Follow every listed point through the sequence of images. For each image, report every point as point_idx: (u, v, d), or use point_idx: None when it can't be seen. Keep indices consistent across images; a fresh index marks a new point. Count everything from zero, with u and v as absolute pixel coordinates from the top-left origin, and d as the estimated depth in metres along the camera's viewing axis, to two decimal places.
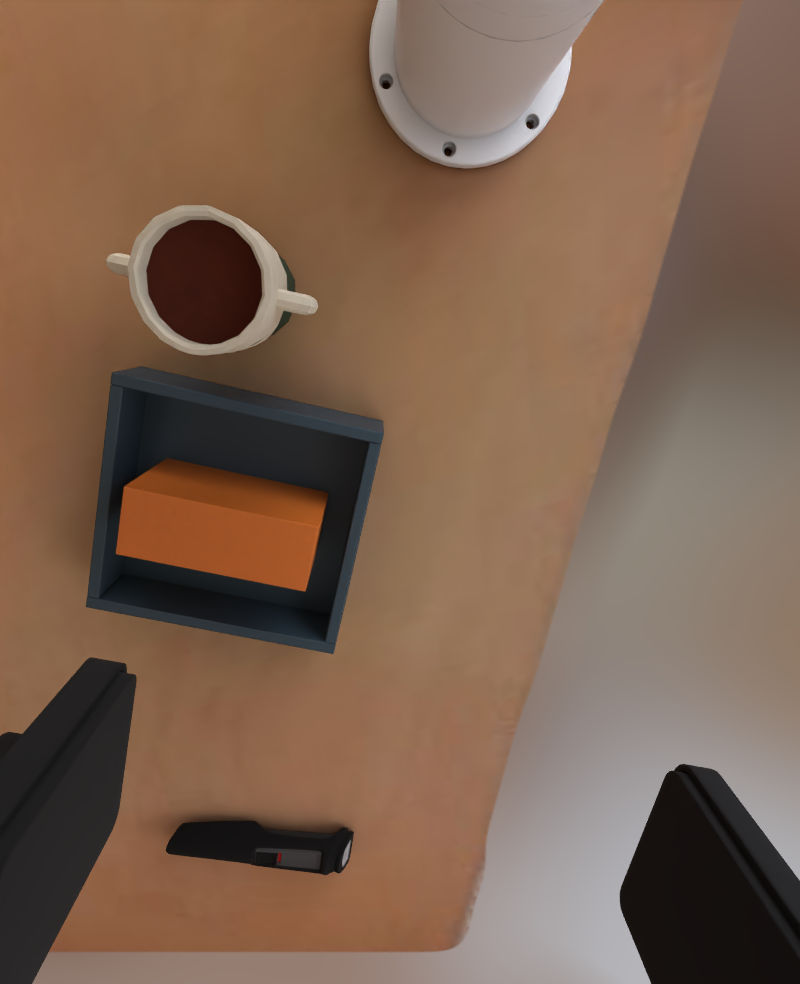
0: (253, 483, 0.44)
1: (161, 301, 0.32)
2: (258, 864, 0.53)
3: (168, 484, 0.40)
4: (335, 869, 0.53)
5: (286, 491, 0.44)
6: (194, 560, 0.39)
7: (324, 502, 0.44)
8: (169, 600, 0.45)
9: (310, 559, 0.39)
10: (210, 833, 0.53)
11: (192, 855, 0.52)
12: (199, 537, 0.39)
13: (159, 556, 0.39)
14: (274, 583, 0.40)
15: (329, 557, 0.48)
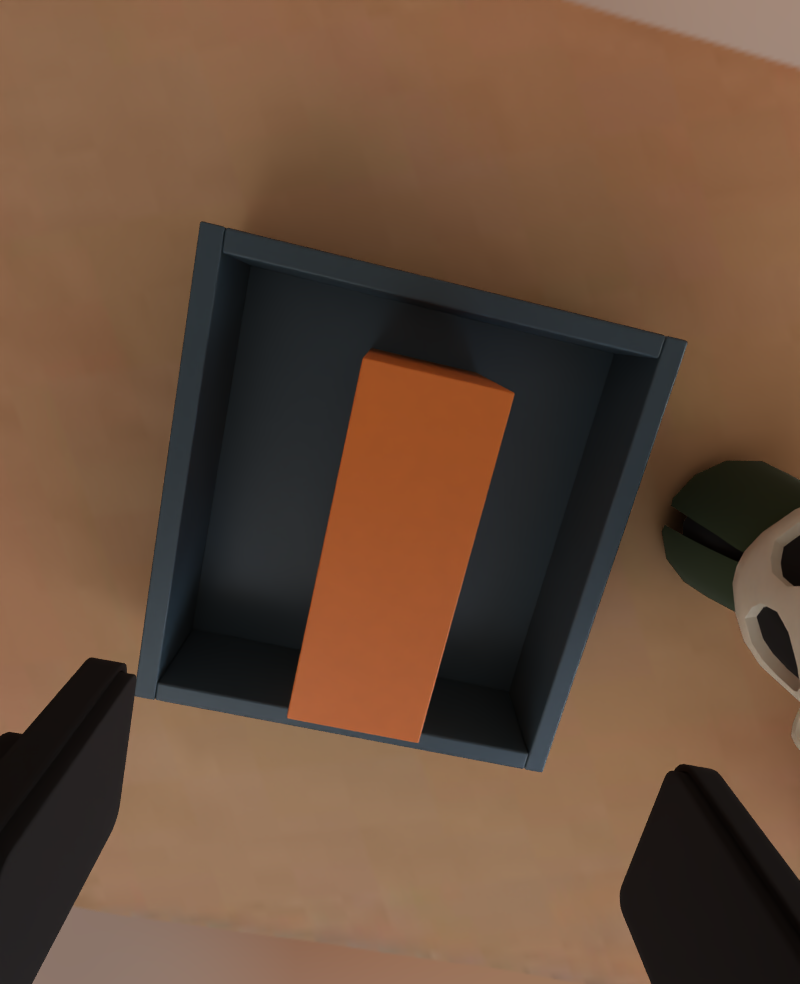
0: None
1: None
2: None
3: None
4: None
5: None
6: (350, 521, 0.19)
7: None
8: (214, 382, 0.23)
9: (353, 729, 0.21)
10: None
11: None
12: (399, 534, 0.19)
13: (358, 451, 0.18)
14: (302, 666, 0.20)
15: (297, 629, 0.29)
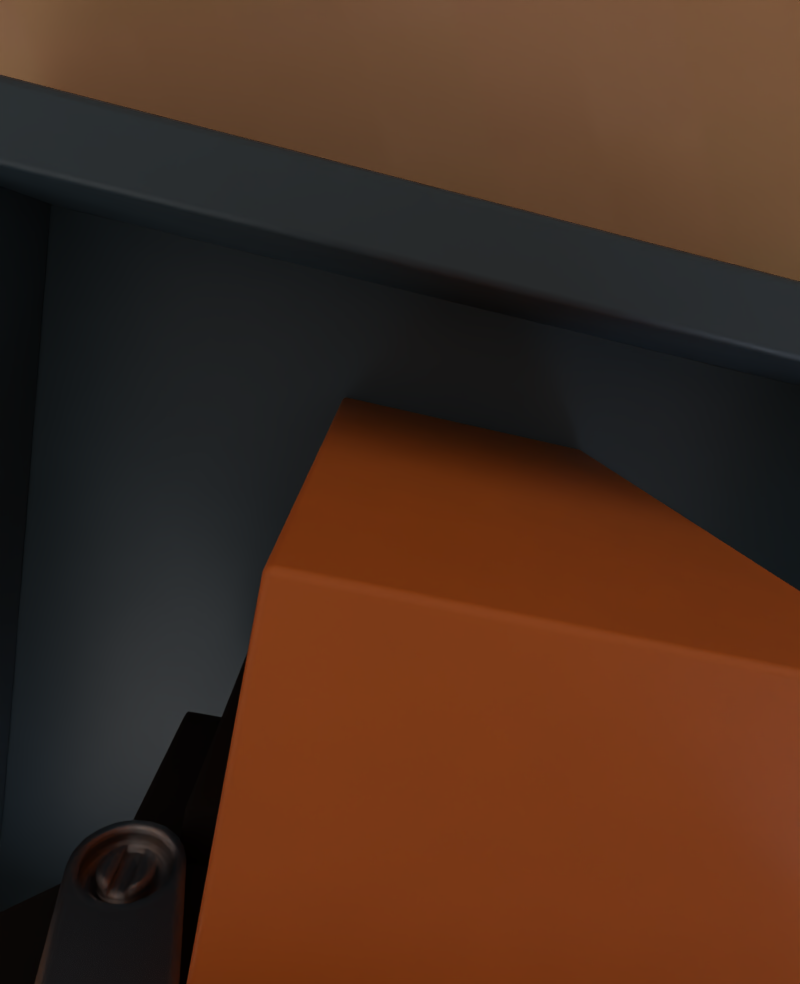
0: None
1: None
2: None
3: None
4: None
5: None
6: None
7: None
8: None
9: None
10: None
11: None
12: None
13: (261, 948, 0.04)
14: None
15: None
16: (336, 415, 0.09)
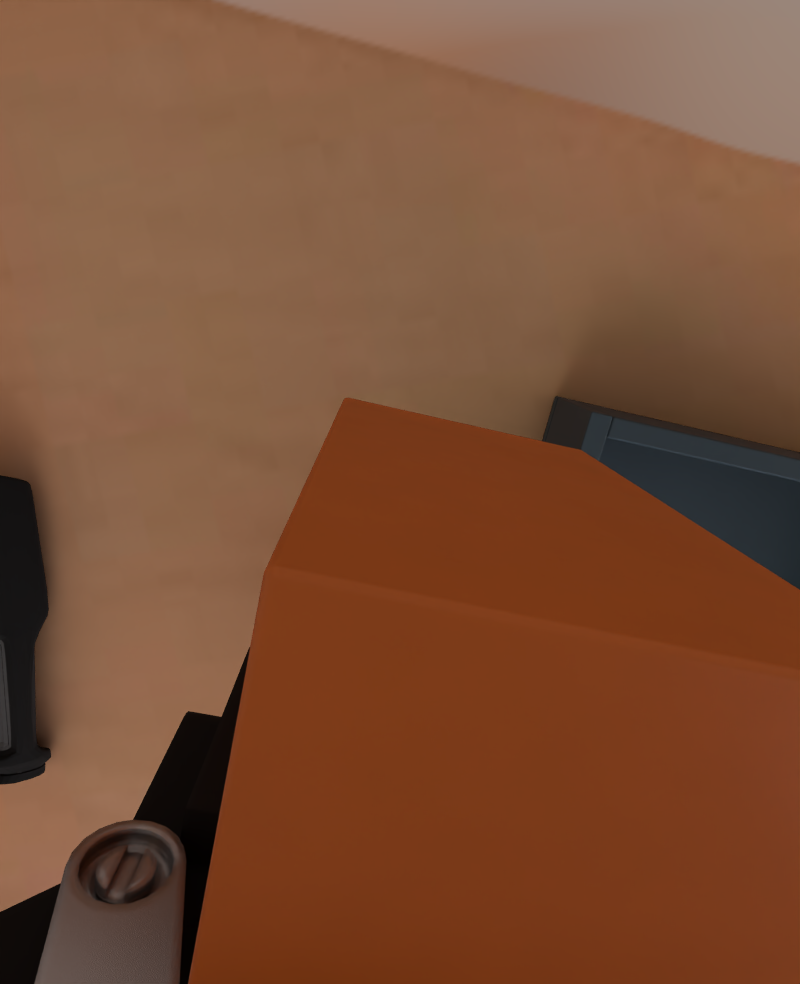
0: None
1: None
2: None
3: None
4: None
5: None
6: None
7: None
8: None
9: None
10: (20, 547, 0.26)
11: None
12: None
13: (262, 951, 0.04)
14: None
15: None
16: (337, 415, 0.09)
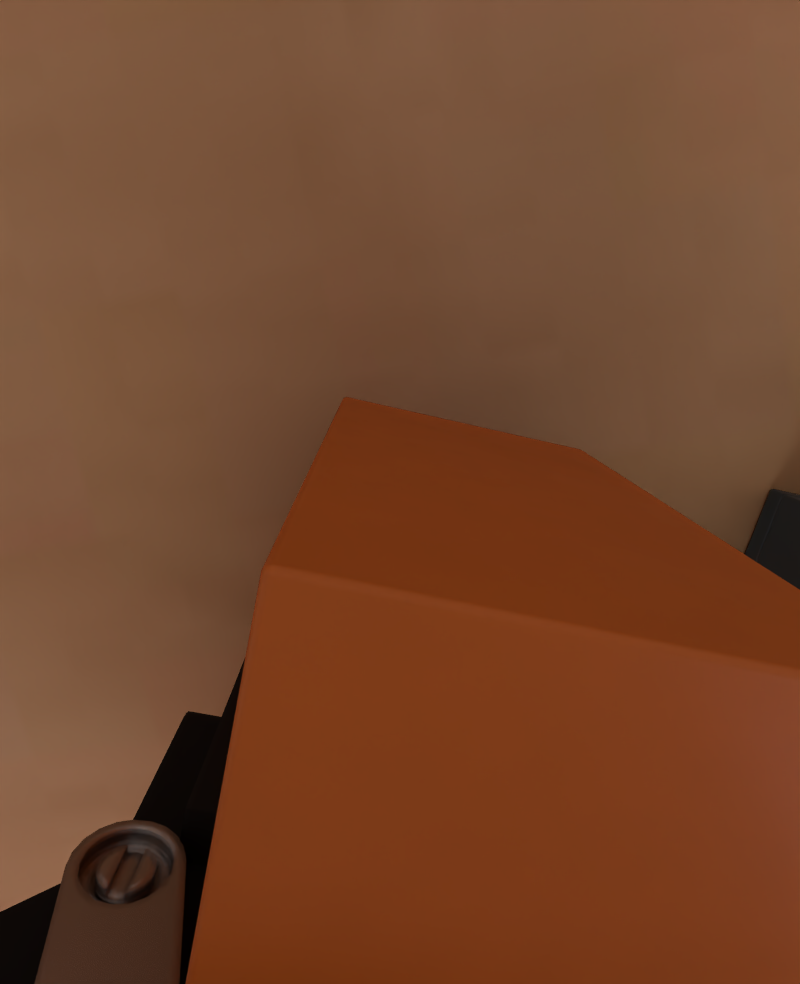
0: None
1: None
2: None
3: None
4: None
5: None
6: None
7: None
8: None
9: None
10: None
11: None
12: None
13: (260, 950, 0.04)
14: None
15: None
16: (336, 414, 0.09)
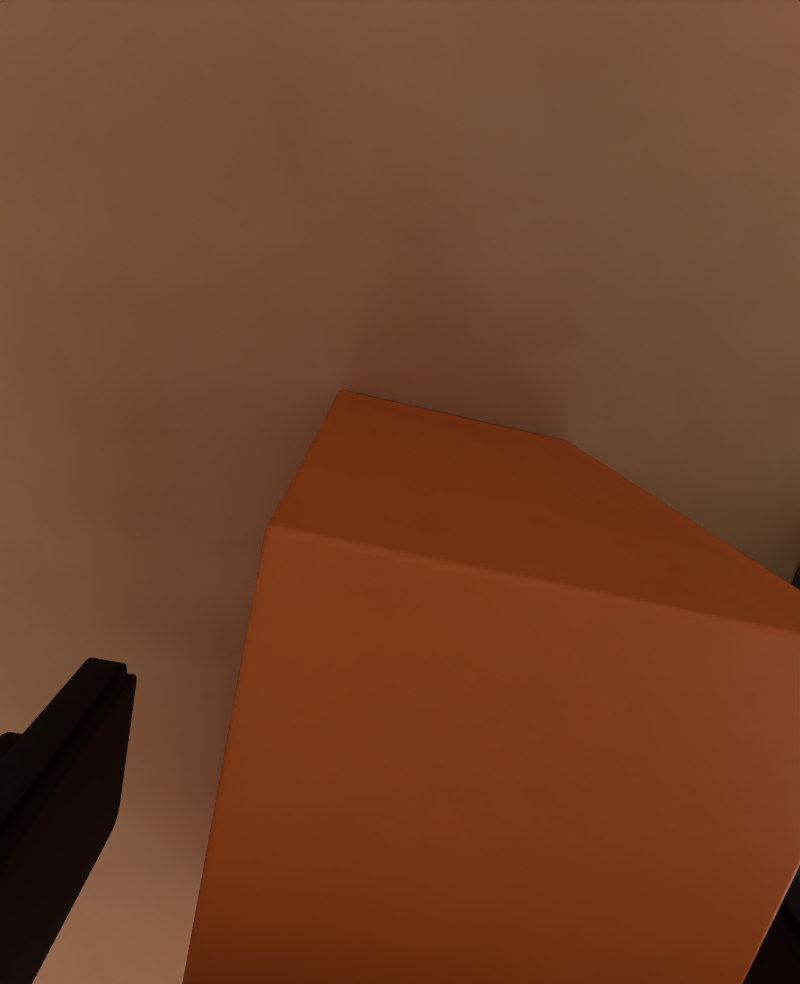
0: None
1: None
2: None
3: None
4: None
5: None
6: None
7: None
8: None
9: None
10: None
11: None
12: None
13: (263, 872, 0.05)
14: None
15: None
16: (332, 406, 0.09)
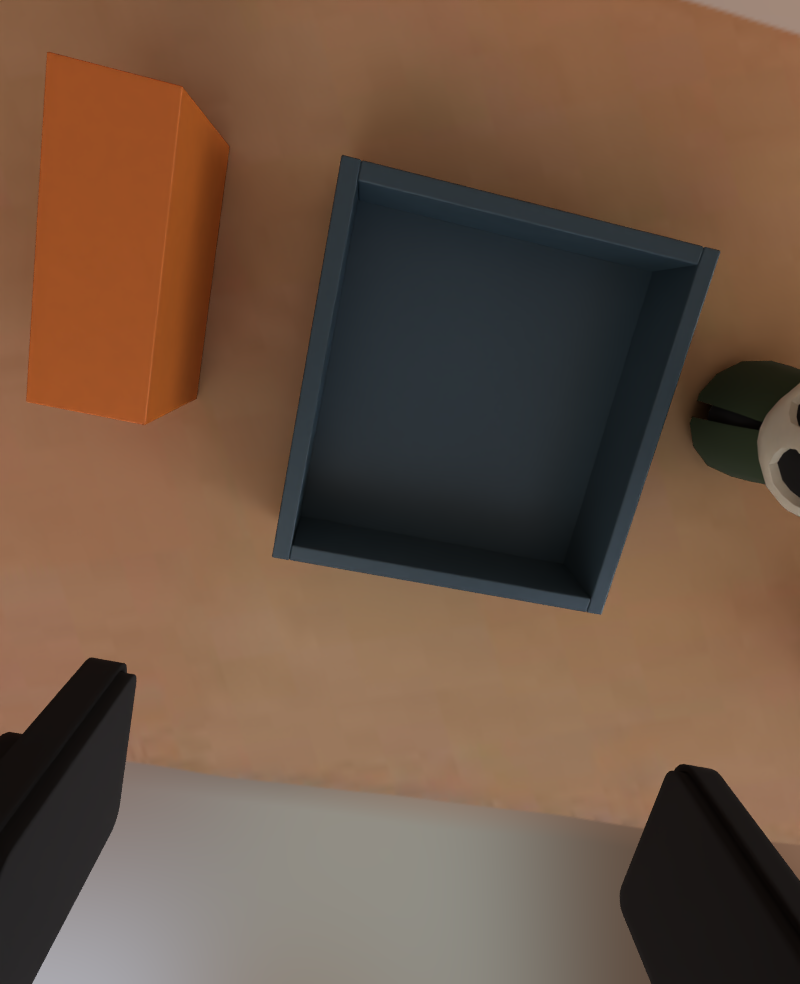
0: (202, 291, 0.29)
1: None
2: None
3: (190, 164, 0.24)
4: None
5: (193, 343, 0.29)
6: (56, 208, 0.22)
7: (182, 404, 0.29)
8: (338, 293, 0.28)
9: (86, 411, 0.24)
10: None
11: None
12: (100, 221, 0.22)
13: (54, 140, 0.22)
14: (33, 350, 0.23)
15: (388, 514, 0.34)
16: None
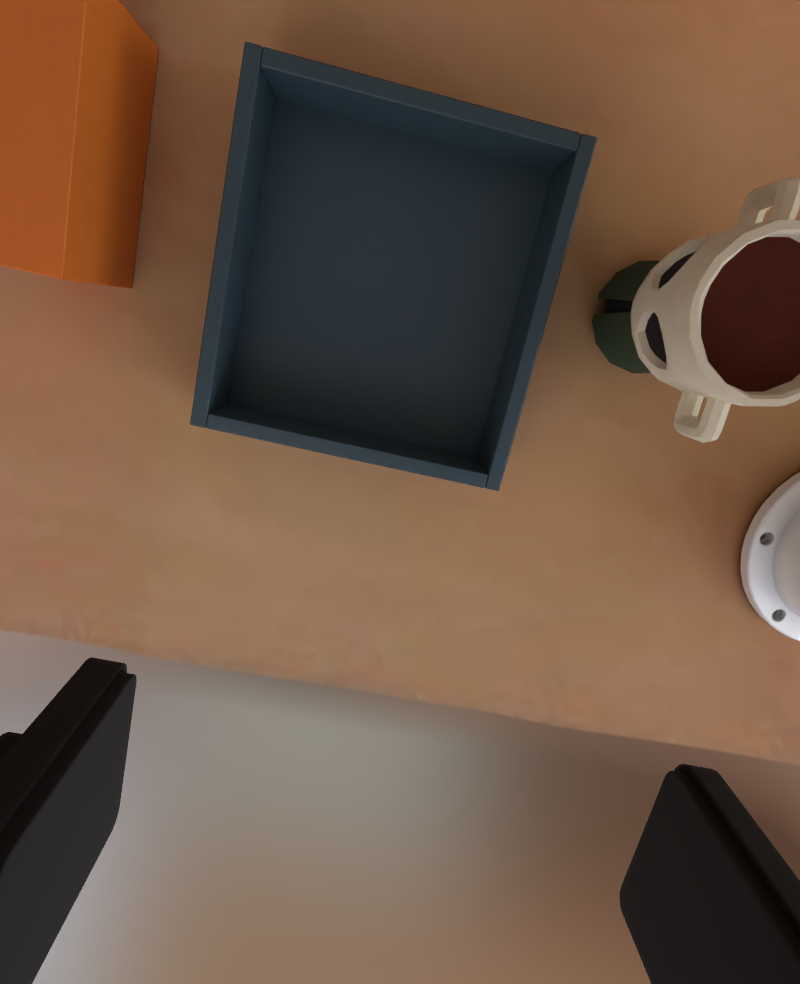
0: (131, 180, 0.32)
1: (747, 253, 0.24)
2: None
3: (105, 44, 0.27)
4: None
5: (123, 229, 0.32)
6: None
7: (112, 283, 0.32)
8: (251, 178, 0.31)
9: (9, 264, 0.27)
10: None
11: None
12: (19, 87, 0.25)
13: None
14: None
15: (310, 403, 0.36)
16: None
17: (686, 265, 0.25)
